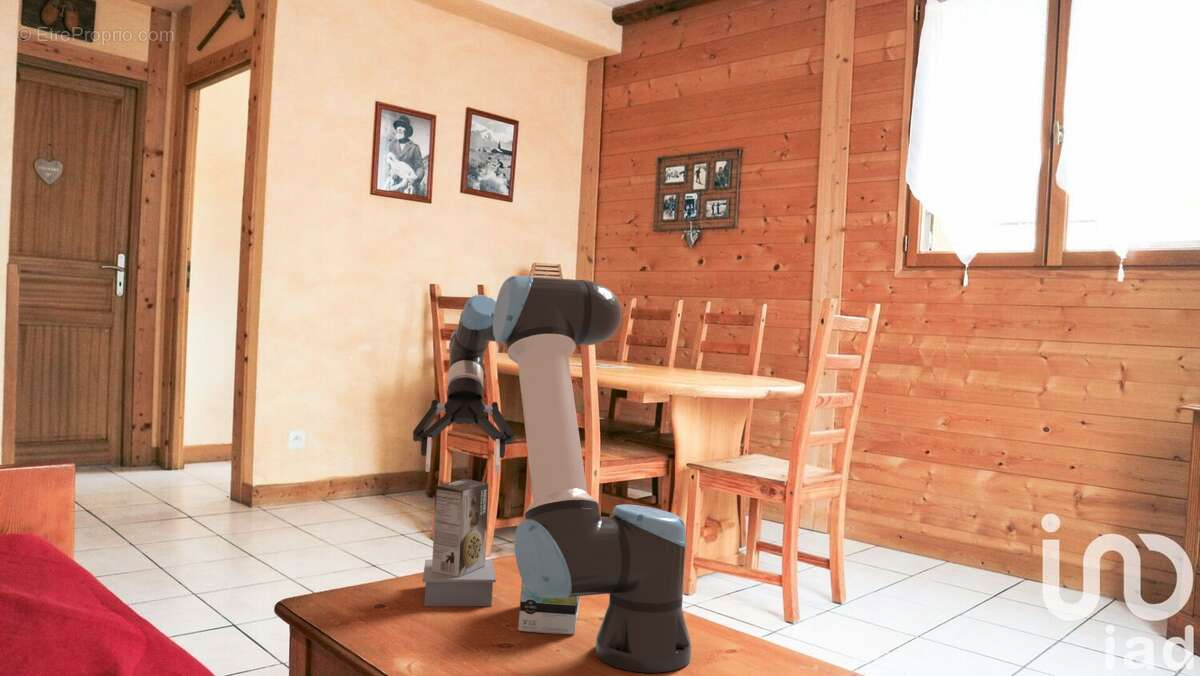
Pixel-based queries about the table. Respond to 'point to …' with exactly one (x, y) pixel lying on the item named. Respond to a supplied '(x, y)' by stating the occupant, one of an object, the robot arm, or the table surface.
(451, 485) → the coffee box
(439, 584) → the grey plinth
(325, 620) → the table surface
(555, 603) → the tea box
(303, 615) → the table surface
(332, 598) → the table surface
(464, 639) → the table surface
